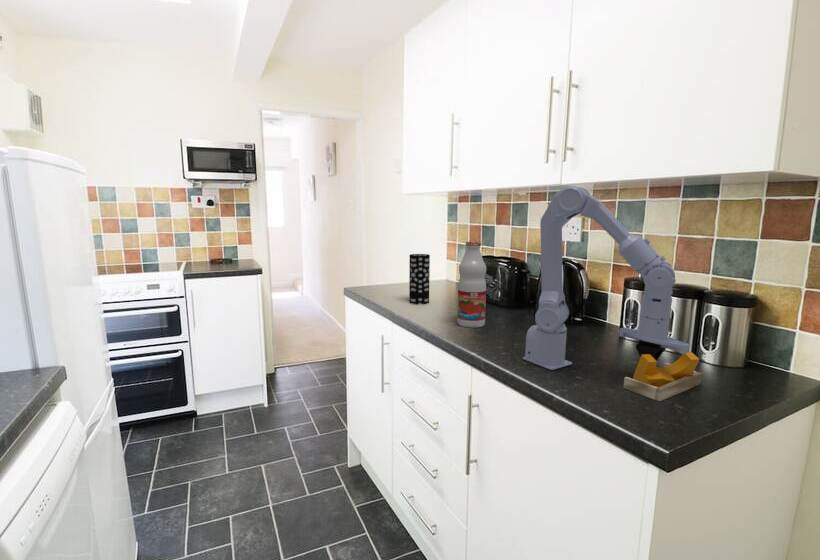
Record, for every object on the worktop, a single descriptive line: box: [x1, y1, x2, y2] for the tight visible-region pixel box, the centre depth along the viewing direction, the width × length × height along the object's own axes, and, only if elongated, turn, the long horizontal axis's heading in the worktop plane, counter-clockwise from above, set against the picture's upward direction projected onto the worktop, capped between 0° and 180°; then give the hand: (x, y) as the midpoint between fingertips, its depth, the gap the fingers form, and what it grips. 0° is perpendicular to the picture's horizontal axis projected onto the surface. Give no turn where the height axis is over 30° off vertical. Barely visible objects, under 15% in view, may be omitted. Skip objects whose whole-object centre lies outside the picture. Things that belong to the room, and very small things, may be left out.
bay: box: [623, 362, 703, 402], centre depth 95 cm, size 8×17×2 cm, turn 122°
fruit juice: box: [456, 241, 487, 329], centre depth 143 cm, size 9×9×28 cm
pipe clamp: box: [632, 351, 700, 387], centre depth 94 cm, size 12×4×6 cm, turn 98°
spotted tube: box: [408, 253, 431, 305], centre depth 177 cm, size 8×8×20 cm
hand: (647, 374), depth 97 cm, fingers closed, pressing on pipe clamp
